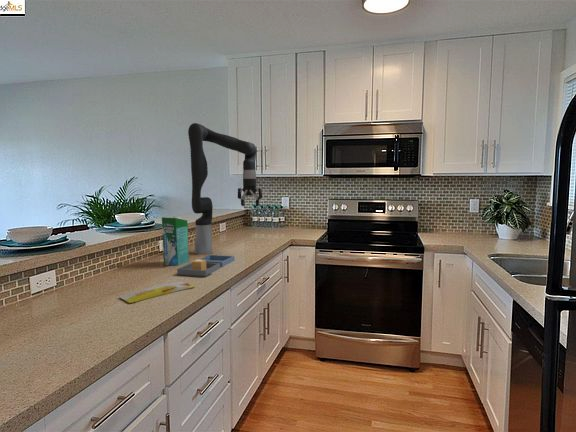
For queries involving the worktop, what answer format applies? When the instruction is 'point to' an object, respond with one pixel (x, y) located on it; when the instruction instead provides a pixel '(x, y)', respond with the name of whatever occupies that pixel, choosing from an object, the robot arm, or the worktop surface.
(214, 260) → the slate-blue tray
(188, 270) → the charcoal tray
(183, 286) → the food package
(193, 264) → the orange cube
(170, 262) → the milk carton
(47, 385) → the worktop surface
